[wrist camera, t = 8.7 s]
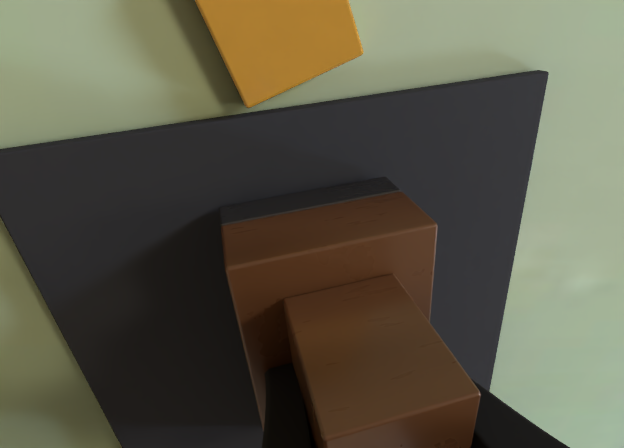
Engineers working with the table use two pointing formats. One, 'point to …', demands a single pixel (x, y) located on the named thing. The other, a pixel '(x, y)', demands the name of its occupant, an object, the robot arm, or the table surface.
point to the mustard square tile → (280, 41)
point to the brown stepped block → (348, 315)
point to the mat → (208, 243)
